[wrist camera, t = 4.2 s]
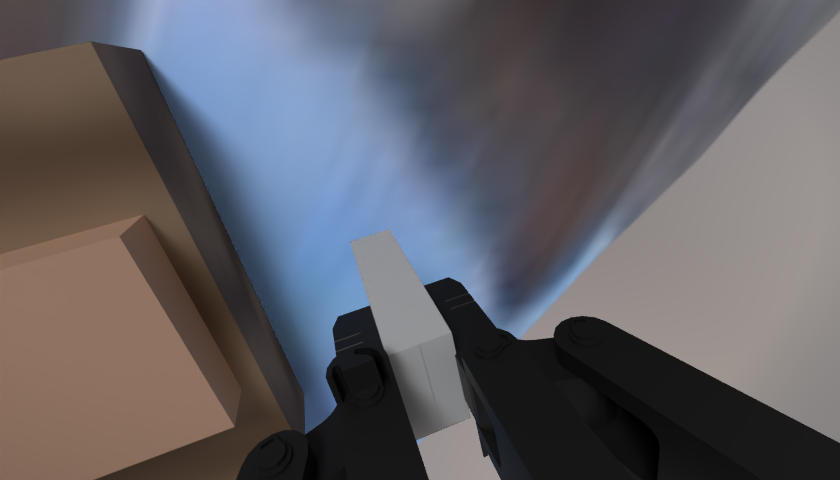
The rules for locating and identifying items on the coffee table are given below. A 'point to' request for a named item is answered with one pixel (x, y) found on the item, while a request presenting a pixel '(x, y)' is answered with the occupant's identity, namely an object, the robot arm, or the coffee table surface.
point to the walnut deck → (130, 197)
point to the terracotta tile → (103, 357)
